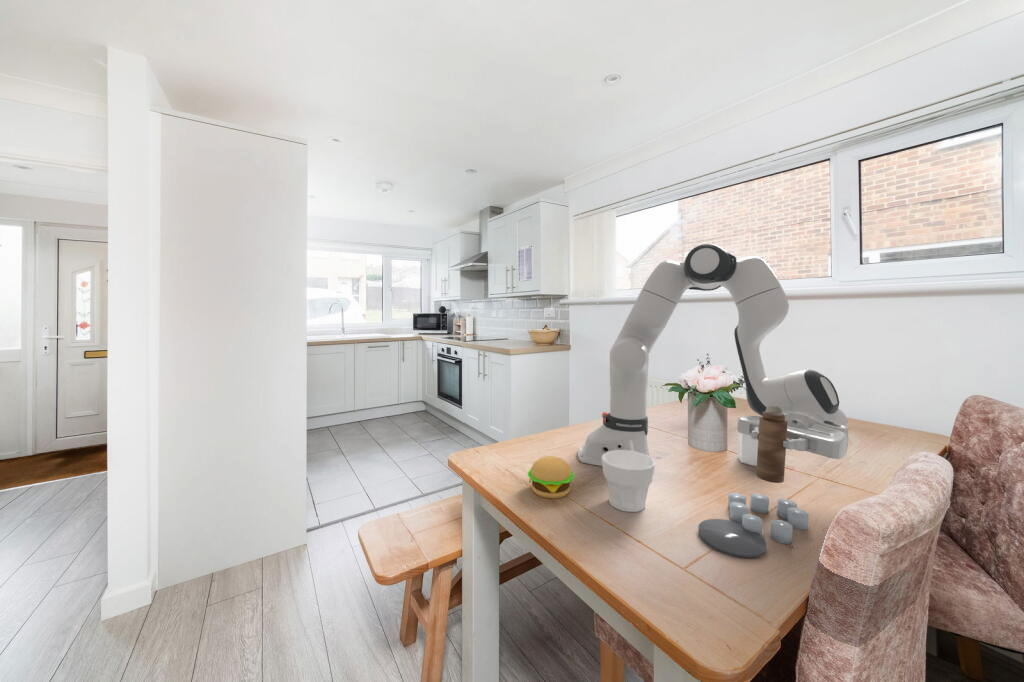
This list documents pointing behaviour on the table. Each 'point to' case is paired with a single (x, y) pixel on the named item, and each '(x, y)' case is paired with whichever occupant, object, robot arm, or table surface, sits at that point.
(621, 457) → the cup
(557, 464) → the hamburger
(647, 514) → the table surface
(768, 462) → the pepper mill
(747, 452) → the jar
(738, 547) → the disc
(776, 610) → the table surface
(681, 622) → the table surface
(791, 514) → the tealight cups
